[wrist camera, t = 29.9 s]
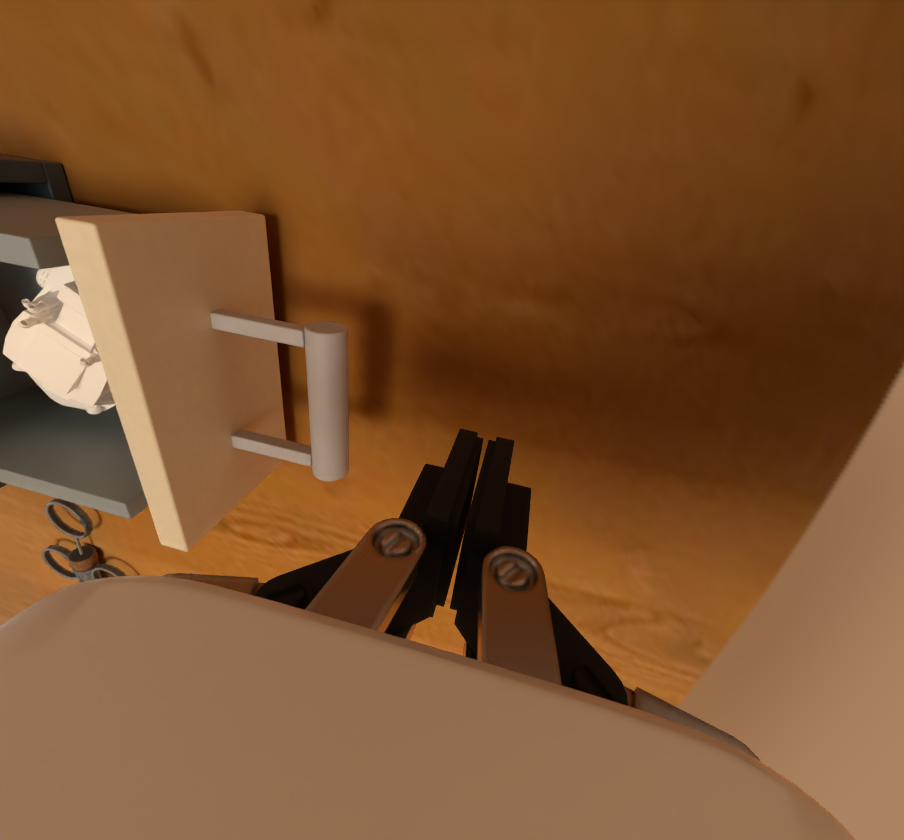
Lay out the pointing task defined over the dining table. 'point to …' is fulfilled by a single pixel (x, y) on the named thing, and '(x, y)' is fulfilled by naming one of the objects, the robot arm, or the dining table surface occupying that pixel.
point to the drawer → (164, 365)
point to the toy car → (59, 345)
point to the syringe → (81, 557)
